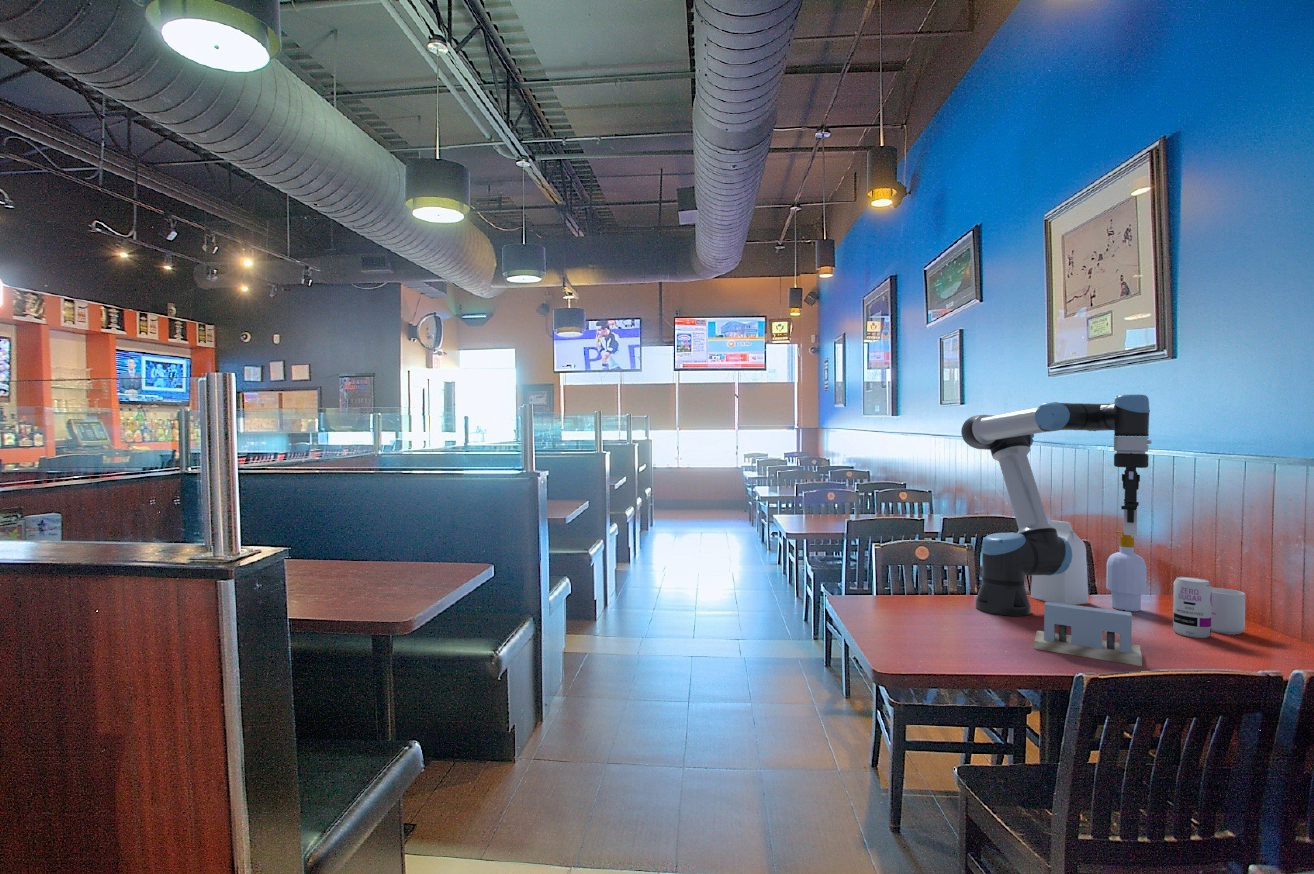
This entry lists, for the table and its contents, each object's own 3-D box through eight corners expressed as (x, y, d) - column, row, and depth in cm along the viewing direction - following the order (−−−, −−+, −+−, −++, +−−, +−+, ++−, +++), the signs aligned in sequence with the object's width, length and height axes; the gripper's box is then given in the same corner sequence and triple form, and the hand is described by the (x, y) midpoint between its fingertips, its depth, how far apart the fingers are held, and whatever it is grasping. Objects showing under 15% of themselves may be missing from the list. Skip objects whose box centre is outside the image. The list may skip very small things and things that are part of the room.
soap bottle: (1106, 603, 216) (1107, 528, 216) (1145, 608, 210) (1146, 531, 210) (1105, 609, 208) (1106, 532, 208) (1146, 614, 202) (1147, 535, 202)
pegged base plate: (1034, 648, 168) (1034, 624, 168) (1037, 637, 177) (1037, 615, 177) (1142, 666, 156) (1142, 640, 156) (1139, 653, 165) (1139, 629, 165)
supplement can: (1202, 631, 185) (1203, 577, 185) (1216, 640, 177) (1217, 583, 177) (1167, 628, 188) (1168, 575, 188) (1180, 636, 180) (1180, 581, 180)
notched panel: (1043, 640, 168) (1044, 604, 168) (1044, 636, 172) (1045, 601, 172) (1131, 653, 158) (1131, 615, 158) (1130, 649, 162) (1131, 612, 162)
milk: (1030, 597, 223) (1031, 519, 223) (1053, 594, 228) (1054, 518, 228) (1064, 605, 212) (1065, 524, 212) (1088, 602, 217) (1089, 522, 217)
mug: (1253, 635, 182) (1254, 594, 182) (1222, 635, 181) (1223, 594, 181) (1214, 623, 194) (1214, 585, 194) (1185, 623, 193) (1185, 585, 193)
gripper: (1150, 453, 165) (1148, 539, 165) (1147, 452, 186) (1145, 528, 186) (1113, 452, 169) (1112, 536, 169) (1114, 451, 190) (1113, 526, 190)
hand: (1129, 532), depth 178 cm, fingers open, 13 cm apart
